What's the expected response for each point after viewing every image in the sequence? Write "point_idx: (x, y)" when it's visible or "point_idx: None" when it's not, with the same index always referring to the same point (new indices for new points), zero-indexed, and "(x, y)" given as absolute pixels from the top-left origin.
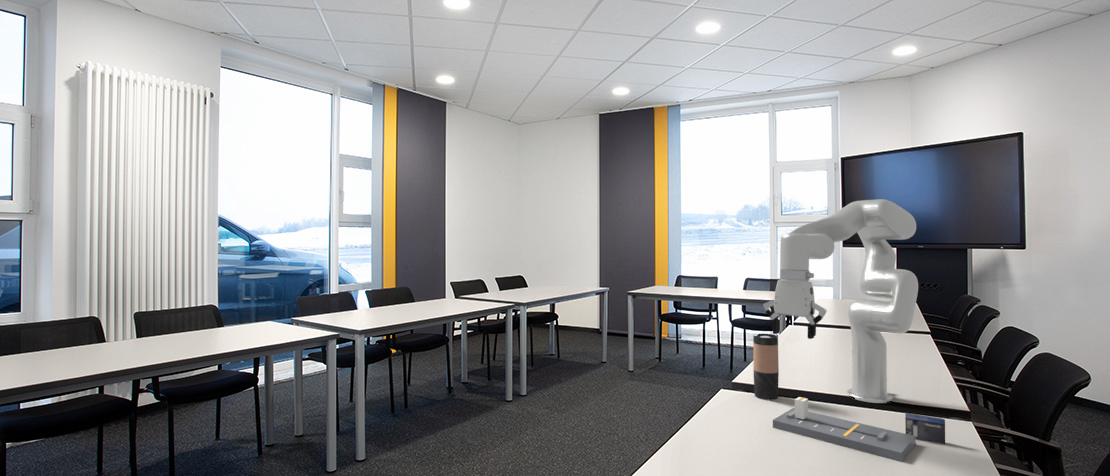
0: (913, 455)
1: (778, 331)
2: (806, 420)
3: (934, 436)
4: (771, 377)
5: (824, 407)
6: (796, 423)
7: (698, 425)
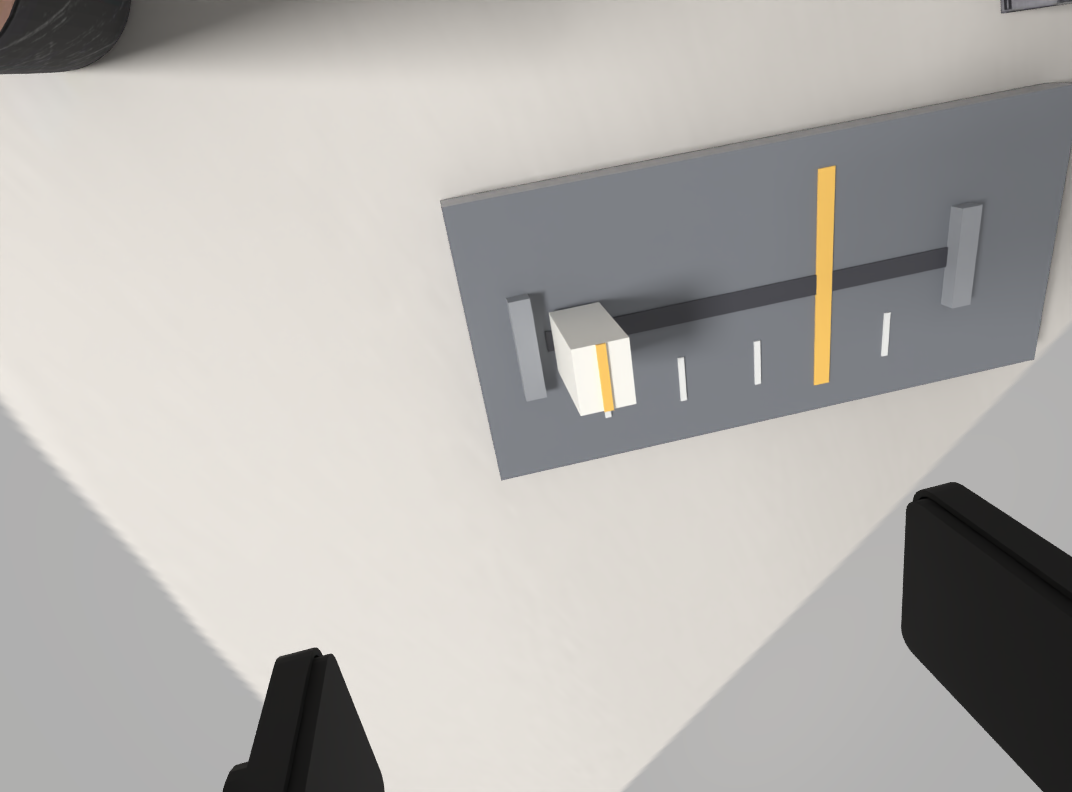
0: None
1: (344, 710)
2: None
3: None
4: (39, 6)
5: None
6: (601, 423)
7: None
